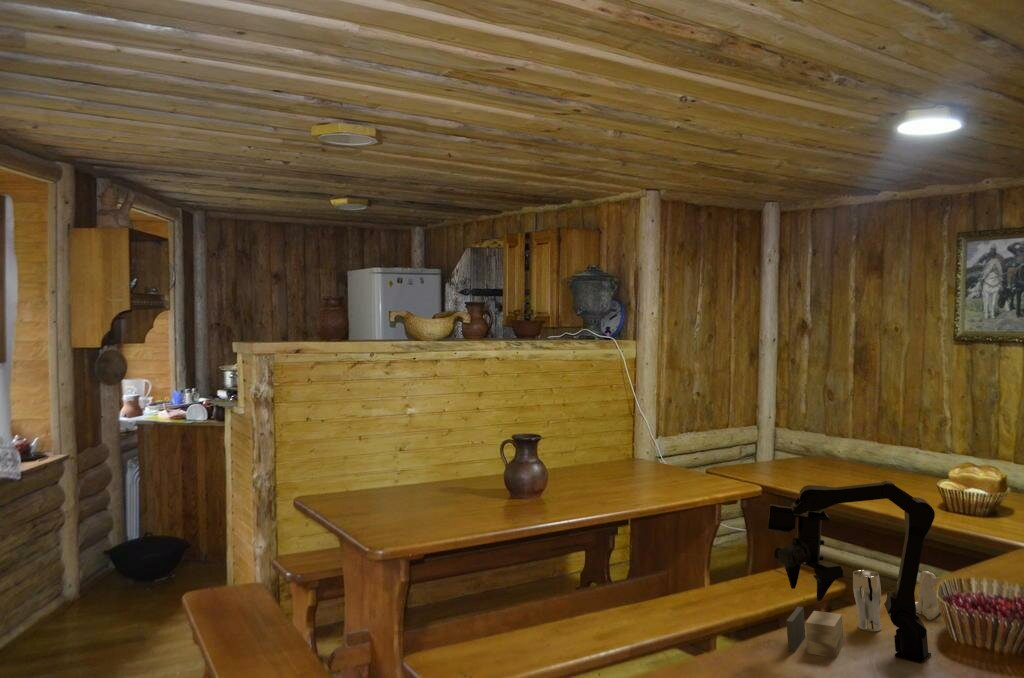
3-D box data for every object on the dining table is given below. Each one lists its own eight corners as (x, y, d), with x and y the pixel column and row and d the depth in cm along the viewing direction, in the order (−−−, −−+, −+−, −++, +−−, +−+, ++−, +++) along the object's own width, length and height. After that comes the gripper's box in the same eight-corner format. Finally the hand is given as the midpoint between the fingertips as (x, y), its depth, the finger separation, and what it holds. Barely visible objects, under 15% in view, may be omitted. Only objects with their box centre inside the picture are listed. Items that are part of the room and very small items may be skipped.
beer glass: (888, 627, 206) (884, 573, 207) (875, 634, 203) (870, 578, 203) (864, 621, 212) (861, 568, 213) (850, 627, 208) (846, 573, 209)
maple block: (844, 644, 197) (841, 614, 198) (836, 658, 190) (834, 626, 190) (816, 640, 201) (814, 610, 202) (807, 653, 193) (805, 622, 194)
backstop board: (805, 636, 204) (803, 607, 204) (794, 652, 194) (792, 621, 194) (799, 635, 205) (797, 606, 205) (788, 651, 195) (786, 620, 195)
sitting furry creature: (902, 610, 219) (898, 569, 219) (923, 605, 222) (920, 564, 222) (930, 620, 210) (927, 577, 210) (952, 615, 213) (949, 572, 213)
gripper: (759, 527, 201) (756, 585, 201) (811, 547, 184) (808, 610, 184) (792, 525, 205) (789, 581, 205) (846, 544, 188) (843, 606, 188)
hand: (805, 594), depth 196 cm, fingers open, 9 cm apart
